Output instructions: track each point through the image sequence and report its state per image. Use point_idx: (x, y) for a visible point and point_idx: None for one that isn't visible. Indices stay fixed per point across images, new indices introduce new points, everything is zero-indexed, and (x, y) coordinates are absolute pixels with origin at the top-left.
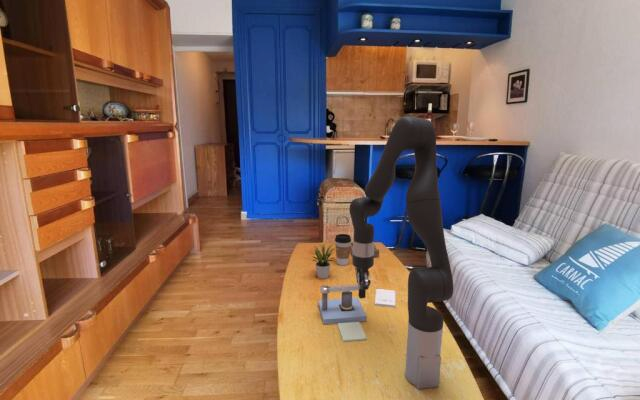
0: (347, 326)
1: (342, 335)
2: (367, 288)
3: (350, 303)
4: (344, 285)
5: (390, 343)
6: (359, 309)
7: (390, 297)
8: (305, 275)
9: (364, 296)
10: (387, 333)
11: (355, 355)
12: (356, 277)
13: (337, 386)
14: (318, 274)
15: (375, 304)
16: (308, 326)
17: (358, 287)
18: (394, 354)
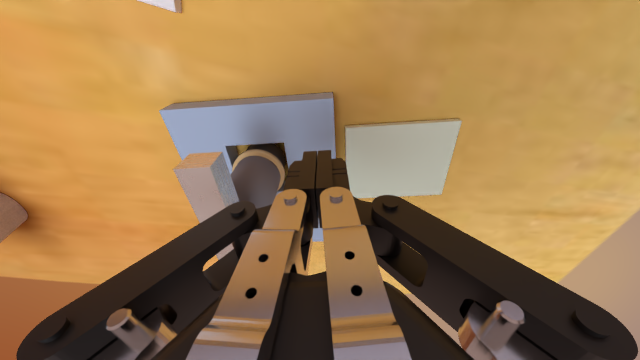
0: (369, 173)
1: (415, 193)
2: (420, 215)
3: (270, 173)
4: (221, 256)
5: (528, 13)
6: (274, 121)
7: None
8: (38, 251)
9: (345, 164)
10: (449, 6)
11: (518, 168)
12: (212, 280)
13: (599, 221)
14: (13, 230)
15: (178, 7)
16: None
17: (222, 185)
18: (607, 17)
